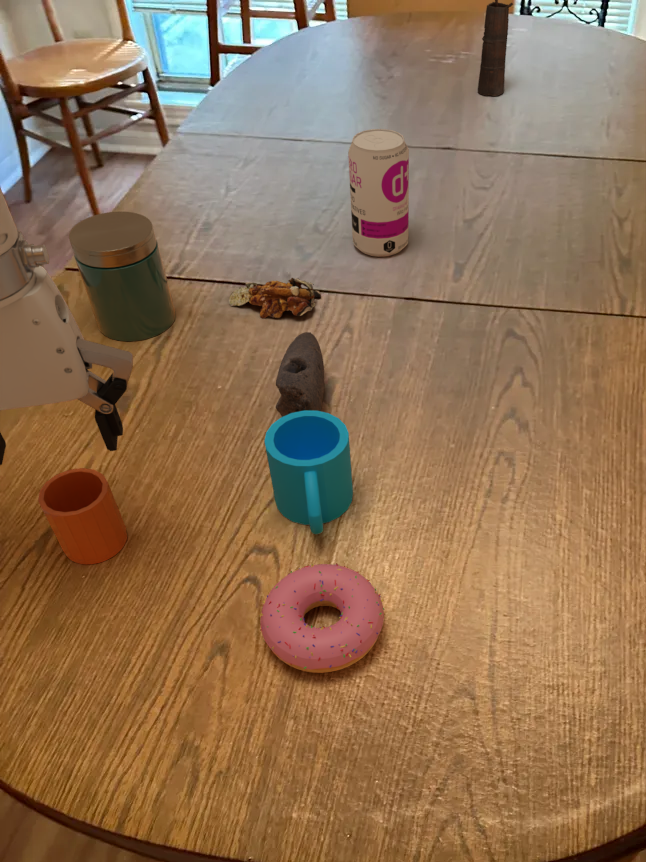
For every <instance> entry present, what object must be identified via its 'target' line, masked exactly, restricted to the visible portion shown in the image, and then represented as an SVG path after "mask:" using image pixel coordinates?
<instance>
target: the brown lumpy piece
mask: <svg viewBox="0 0 646 862" xmlns="http://www.w3.org/2000/svg"><path fill="white" fill-rule="evenodd" d="M287 281H288V282H287V283H286V282H283V281H279V280H270V281H266V282H265V284H263V285H260V284H258V283H257V282H245V287H243V286H239V287H237V288H236V290H234V291H231V293H230V295H229V297H228V298H229V300H228V305H229V306H230V307H232V306H238V307H241V306H243V305H245V304H246V303H248V302H249V304H251V305H252V306H259V307H261V308H260V312H259V317H260V318H261V319H266V318H267V317H270V318H275V319H280V318H282V316H283V313H284V312H285V311H291V313H292V314H293V316H297V317H301V316H303V315H304V314H306V313H307V312H310V311H311V312H312V310H313V308H314V307H316V303H315V297H317V298H321V297H322V294H321V292H320V291H319V290H314V285H315V283H313V282H311V281H310V282H309V281H306V280H301V279H300V278H299V277H296V278H295V277H291V278H289V280H287ZM303 286H304V287H306V288H307V289H306V288H303Z"/></svg>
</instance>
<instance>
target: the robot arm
mask: <svg viewBox="0 0 646 862" xmlns="http://www.w3.org/2000/svg"><path fill="white" fill-rule="evenodd" d="M49 264H50V255H49V252H48V249H47V247H46V245H45V244H37V245H34V243H28V241H27V239H25V238H24V236H23V233H22V231H20V230H19V231H18V228H17V226H16V223H15V220H14V219H13V215H12V214H11V211H10V208H9V206H8V204H7V201H6V199H5V195H4V194H3V191H2V189H1V187H0V411H6V410H14V409H21V408H23V409H24V408H31V407H36V406H37V407H38V406H44V405H45V406H46V405H53V404H60V403H66V402H72V401H76V400H78V401H80V402H82V403H83V404H84V405H86V406H89V407H90V408H92V409H94V420H95V422H96V425H97V428H98V430H99V433H100V436H101V438H102V441H103V442H104V446H105V447H106V450H107V451H109V452H115V451H117V450H118V437H121V436H124V426H123V422H122V419H121V416H120V414H119V411H118V408H117V406H116V405H117V403H118V402H119V400H120V399H121V398H122V397H123V396H124V394H125V393H126V392H127V388H128V385H129V381H130V378H131V375H132V370H133V366H134V354H133V353H132V352H130V351H128V350H124V349H120V348H117V347H113V346H109V345H105V344H101V343H98V342H95V341H90V340H86V339H85V338H84V335H83V333H82V332H81V331H82V330H81V329H80V327H79V325H78V323H77V321H76V319H75V317H74V315H73V313H72V311H71V309H70V307H69V305H68V303H67V302H66V300H65V298H64V296H63V295H62V293H61V291H60V289H59V288H58V286H57V285H56V282H55V281H54V280H53V278H52V277H51V275H50V274H49V273H48V271H47V269H46V268H45V267H43V265H49ZM93 365H96V366H99V367H104V368H108V369H111V370H112V371H113V372H112V373H111V375H109V377H108V379H107V380H105V379H103V378H102V377H100V376H99V375H97V374H96V373H94V372H92V371H90V369H91V370H92V369H93ZM6 447H7V443H6V440H5V438H4V436H3V434H2V432H1V431H0V466H2V465H3V462H4V458H5V453H6V452H5V451H6Z"/></svg>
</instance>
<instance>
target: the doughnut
mask: <svg viewBox="0 0 646 862" xmlns="http://www.w3.org/2000/svg"><path fill="white" fill-rule="evenodd" d="M370 581H371V580H370V579H367V578H366V577H365V576H364V575H362V574H361V573H360V571H356V570H354V569H351V568H349V567H346V566H345V565H343V566H342V565H339V564H338V562H337V563H335V564H331V563H319V564H313V563H311V564H310V565H305V566H303V567H301V568H300V567H298V568H296V569H295V570H294V571H292V570H290V573H288V574H287V575H285V576H284V577H283V578H281V579H280V580H279V581H278V582H277V583H275V585H274V586H273V587H272V588H271V590H270V591H269V593H268V594H267V595H266V598H265V601H264V600H262V603H263V605H262V608H261V612H260V614H259V615H258V616H259V618H260V619H259V621H260V623H259V624H260V630H259V631H260V632H261V634H262V638H263V640H264V641H265V643H266V645H267V646H268V647H269V649H270V650H271V652H272V653H273V654H274V655H275V656H276V657H277V658H278V659H279V660H280V661H281V662H283V663H284V664H286V665H288V666H290V667H291V668H294V669H297V670H300V671H302V672H307V673H316V674H321V673H322V674H323V673H331V672H336V671H340V670H343V669H347V668H348V667H350V666H352V665H354V664H356V663H357V662H358V661H360V660H361V659H363V658H364V657H365V656H366V655H368V653H369V652H370V651H371V650H372V649H373V647H374V646H375V644H376V642H377V641H378V639H379V636H380V634H381V631H382V628H383V627H384V621H385V608H384V605H383V602H384V599H381V595H382V594H381V593H379V592H378V591H377V588H376V587H374V586H373V585H372V583H371V582H370ZM317 607H333V608H335V609H337V610H338V611H339V612H340V615H339V616H338V619H339V620H338V621H336V622H335V623H334V624H330V625H329V626H327V627H326V626H324V625H323V626H322V627H316V626H313V625H309V624H308V623H306V622H305V615H306V614H307V613H308V612H310V611H311V610H313V609H314V608H317Z"/></svg>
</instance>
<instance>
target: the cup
mask: <svg viewBox="0 0 646 862" xmlns="http://www.w3.org/2000/svg"><path fill="white" fill-rule="evenodd" d="M37 503H38V504H39V506H40V508H41V510H42V512H43V514H44V516H45V519H46V520H47V522H48V524H49V526H50V528H51V530H52V532H53V534H54V535H55V538H56V540H57V541H58V544H59V546H60V548H61V550H62V551H63V553H64V555H65V556H66V558H67V559H68V560H70V561H72V562H74V563H75V564H80V565H94V564H95V565H96V564H99V563H103V562H105V561H107V560H109V559H110V560H111V559H112V558H113V557H115V556H116V555H117V554H118V553H120V552H121V551H122V550H123V548H124V546H125V545H126V543H127V540H128V531H127V526H126V524H125V521H124V519H123V517H122V514H121V511H120V509H119V507H118V503H117V501H116V499H115V496H114V494H113V492H112V489H111V486H110V484H109V482H108V480H107V478H106V477H105V475H104V474H103V473H101V472H100V471H98V470H96V469H93V468H86V467H78V468H72V469H71V468H70V469H67V470H65V471H64V470H63V471H61V472H60V473H57V474H55V475H54V476H52V477H51V478H50V479H48V480H46V482H45V483H44V484H43V485H42V487H41V488H40V490H39V491H38V497H37Z"/></svg>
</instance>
